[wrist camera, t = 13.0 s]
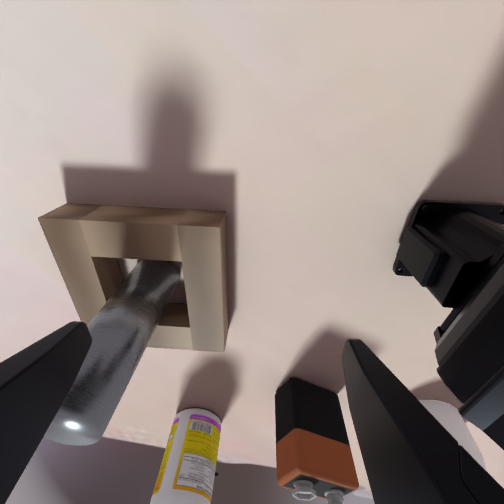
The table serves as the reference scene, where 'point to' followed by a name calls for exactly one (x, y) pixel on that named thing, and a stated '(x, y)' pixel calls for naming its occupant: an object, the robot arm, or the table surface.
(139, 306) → the grey metal cylinder
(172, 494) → the supplement bottle
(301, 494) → the battery
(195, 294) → the holder block
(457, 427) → the teardrop
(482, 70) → the table surface
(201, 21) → the table surface
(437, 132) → the table surface
